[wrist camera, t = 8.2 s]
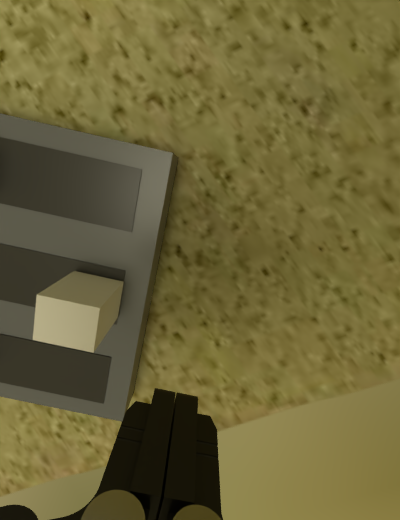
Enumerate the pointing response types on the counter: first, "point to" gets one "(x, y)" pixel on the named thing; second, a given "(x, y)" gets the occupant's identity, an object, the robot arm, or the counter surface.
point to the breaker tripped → (77, 311)
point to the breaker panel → (77, 256)
